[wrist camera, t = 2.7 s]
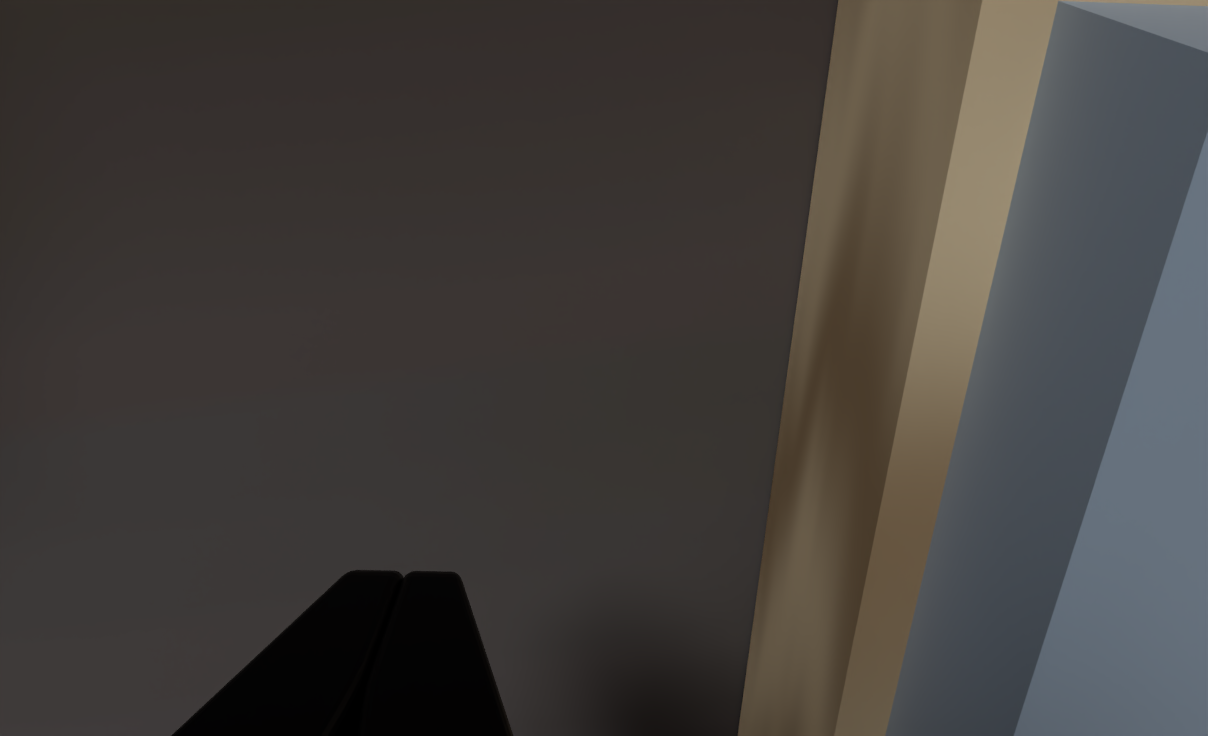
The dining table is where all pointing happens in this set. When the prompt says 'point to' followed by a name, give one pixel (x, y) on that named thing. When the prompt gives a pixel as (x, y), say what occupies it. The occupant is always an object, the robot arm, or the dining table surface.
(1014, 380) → the slate blue board
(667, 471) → the dining table surface
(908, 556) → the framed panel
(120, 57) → the dining table surface
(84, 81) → the dining table surface
